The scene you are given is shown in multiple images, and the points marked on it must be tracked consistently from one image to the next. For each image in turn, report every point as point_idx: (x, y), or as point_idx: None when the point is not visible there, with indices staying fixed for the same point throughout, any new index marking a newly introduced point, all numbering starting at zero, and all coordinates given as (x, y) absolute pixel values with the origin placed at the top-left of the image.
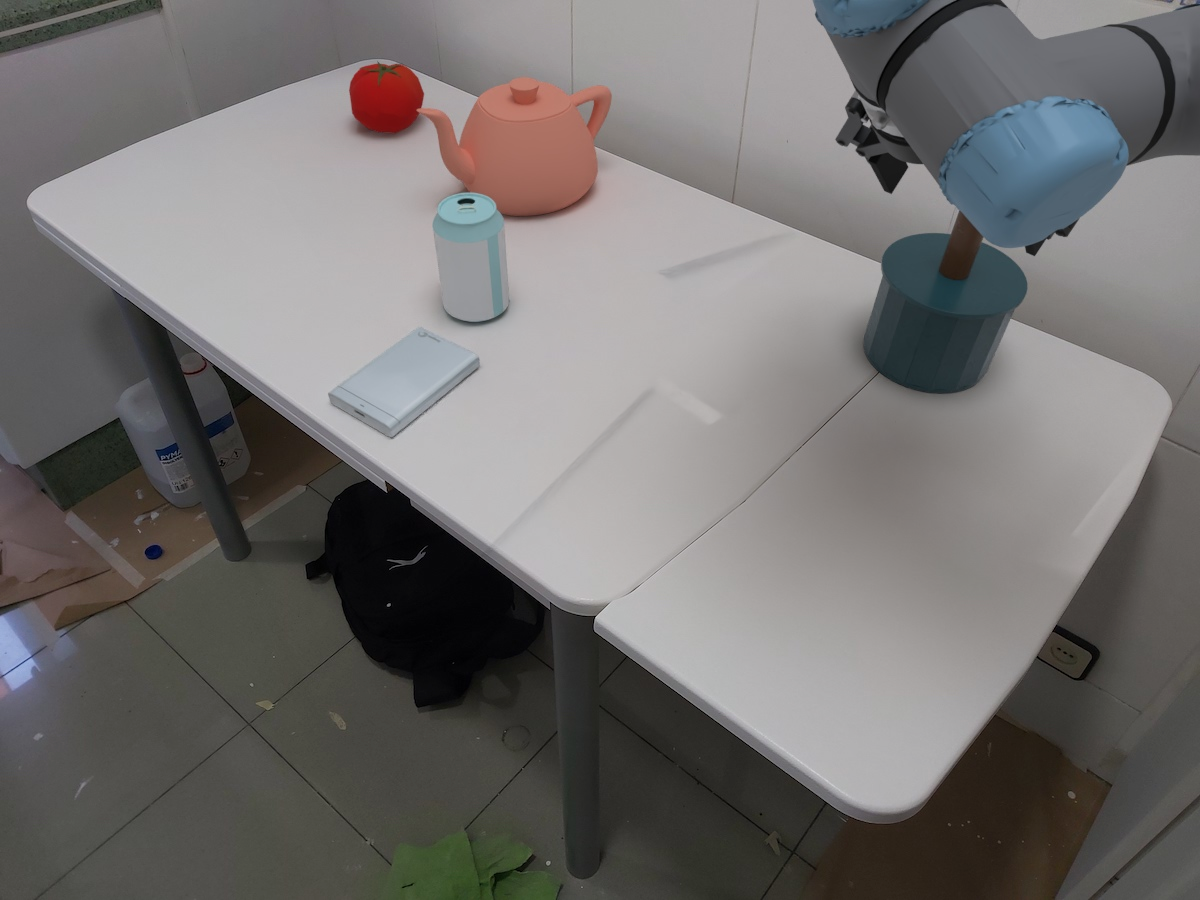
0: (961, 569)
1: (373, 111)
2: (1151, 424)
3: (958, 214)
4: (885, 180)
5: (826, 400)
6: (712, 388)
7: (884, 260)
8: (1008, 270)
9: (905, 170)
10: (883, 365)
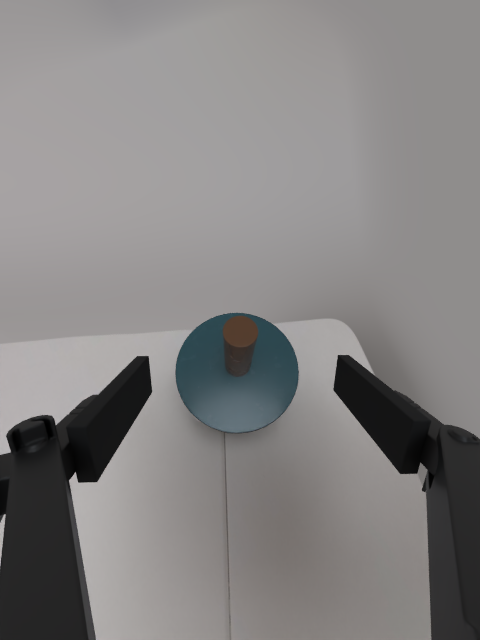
0: (401, 607)
1: None
2: (359, 346)
3: (226, 350)
4: (134, 419)
5: (212, 501)
6: (121, 588)
7: (182, 395)
8: (266, 332)
9: (147, 362)
10: (226, 432)
